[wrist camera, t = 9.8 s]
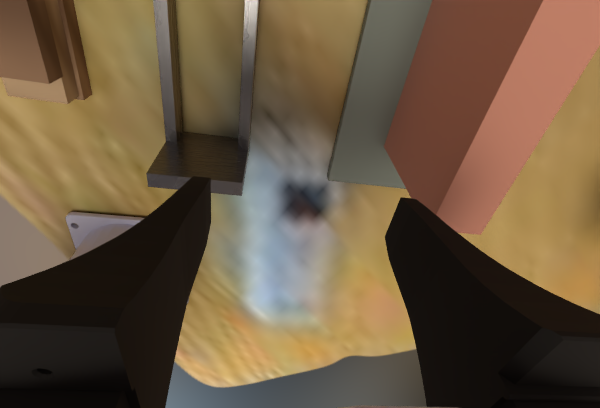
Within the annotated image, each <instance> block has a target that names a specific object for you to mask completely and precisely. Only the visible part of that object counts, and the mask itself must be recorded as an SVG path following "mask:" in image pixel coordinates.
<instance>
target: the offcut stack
mask: <svg viewBox="0 0 600 408" xmlns="http://www.w3.org/2000/svg"><path fill="white" fill-rule="evenodd" d="M0 77H2V80H3V83H4V86H5V89H6V92H7V95H8V96H14V97H21V98H28V99H36V100H43V101H50V102H57V103H65V104H68V103H70V102H71V101H73V100H74V99H79V100H85V99H86V98H88V97H89V96H90V95H92V91H91V86H90V81H89V76H88V71H87V66H86V61H85V56H84V51H83V46H82V42H81V37H80V32H79V27H78V22H77V17H76V12H75V7H74V2H73V0H0Z"/></svg>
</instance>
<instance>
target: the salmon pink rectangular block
mask: <svg viewBox="0 0 600 408" xmlns="http://www.w3.org/2000/svg"><path fill="white" fill-rule="evenodd" d="M599 45H600V0H432V3H431V6H430V9H429V12H428V15H427V18H426V21H425V24H424V27H423V30H422V33H421V36H420V39H419V42H418V45H417V48H416V51H415V54H414V57H413V60H412V63H411V66H410V69H409V72H408V75H407V78H406V81H405V84H404V87H403V90H402V93H401V96H400V99H399V102H398V105H397V108H396V111H395V114H394V117H393V120H392V123H391V126H390V129H389V132H388V135H387V138H386V141H385V145H384V148H385V150H386V152H387V154H388V155H389V157H390V159H391V161H392V163H393V165H394V167H395V168H396V170H397V172H398V174H399V176H400V178H401V180H402V181H403V183H404V185H405V187H406V189H407V191H408V193H409V195H410V196H411V198H412V199H417V200H418V201H419V202H421V203H422V204H423V205H425V206H426V207H427V208H428V209H430V210H431V211H432V212H433V213H434V214H436V215H437V216H438V217H439V218H440V219H441V220H443V221H444V222H445V223H446V224H447V225H449V226H450V227H451V228H452V229H453V230H455V231H456V232H458V233H469V234H480V235H481V233H482V232H483V230H484V228H485V227H486V225H487V224H488V222H489V221H490V219H491V217H492V216H493V214H494V213H495V211H496V209H497V208H498V206H499V205H500V203H501V201H502V200H503V198H504V197H505V195H506V193H507V192H508V190H509V189H510V187H511V186H512V184H513V182H514V181H515V179H516V178H517V176H518V174H519V173H520V171H521V170H522V168H523V166H524V165H525V163H526V162H527V160H528V158H529V157H530V155H531V154H532V152H533V151H534V149H535V147H536V146H537V144H538V143H539V141H540V139H541V138H542V136H543V135H544V133H545V131H546V130H547V128H548V127H549V125H550V123H551V122H552V120H553V119H554V117H555V115H556V114H557V112H558V111H559V109H560V108H561V106H562V104H563V103H564V101H565V100H566V98H567V96H568V95H569V93H570V92H571V90H572V88H573V87H574V85H575V84H576V82H577V80H578V79H579V77H580V76H581V74H582V73H583V71H584V69H585V68H586V66H587V65H588V63H589V61H590V60H591V58H592V57H593V55H594V53H595V52H596V50H597V49H598V47H599Z"/></svg>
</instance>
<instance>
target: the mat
mask: <svg viewBox="0 0 600 408" xmlns="http://www.w3.org/2000/svg"><path fill="white" fill-rule="evenodd" d="M431 3H432V0H368V4H367V8H366V13H365V17H364V21H363V25H362V30H361V34H360V38H359V43H358V47H357V51H356V55H355V60H354V64H353V68H352V72H351V77H350V81H349V85H348V89H347V94H346V98H345V102H344V106H343V111H342V115H341V119H340V123H339V128H338V132H337V136H336V140H335V145H334V149H333V153H332V157H331V162H330V166H329V170H328V174H327V177H328V180H329V181H338V182H348V183H357V184H366V185H376V186H385V187H394V188H404V189H406V187H405V185H404V183H403V181H402V180H401V178H400V176H399V174H398V172H397V170H396V168H395V167H394V165H393V163H392V161H391V159H390V157H389V155H388V154H387V152H386V150H385V148H384V145H385V141H386V138H387V135H388V132H389V129H390V126H391V123H392V120H393V117H394V114H395V111H396V108H397V105H398V102H399V99H400V96H401V93H402V90H403V87H404V84H405V81H406V78H407V75H408V72H409V69H410V66H411V63H412V60H413V57H414V54H415V51H416V48H417V45H418V42H419V39H420V36H421V33H422V30H423V27H424V24H425V21H426V18H427V15H428V12H429V9H430V6H431Z"/></svg>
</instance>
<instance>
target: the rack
mask: <svg viewBox="0 0 600 408" xmlns="http://www.w3.org/2000/svg"><path fill="white" fill-rule="evenodd" d="M259 3H260V0H245V11H244V31H243V52H242V73H241V94H240V115H239V136H238V138H230V137H222V136H213V135H205V134H197V133H188V132H183V124H182V107H181V90H180V72H179V55H178V38H177V20H176V3H175V0H153V4H154V15H155V26H156V37H157V48H158V59H159V69H160V80H161V91H162V102H163V113H164V124H165V135H166V143H165V144H164V146H163V147H162V149H161V151H160V152H159V154H158V155H157V157H156V159H155V160H154V162H153V163H152V165H151V167H150V168H149V170H148V172H147V173H146V174H147V181H148V187H157V188H168V189H178V190H179V189H180V188H181V187H182V186H183V185H184V184H185V183H186V182H187V181H188V180H189V179H190V178H192V177H193V176H197V177H207V178H211V193H219V194H229V195H239V196H242V191H243V185H244V179H245V173H246V167H247V161H248V155H249V146H250V132H251V117H252V103H253V89H254V75H255V60H256V46H257V32H258V18H259Z"/></svg>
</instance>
